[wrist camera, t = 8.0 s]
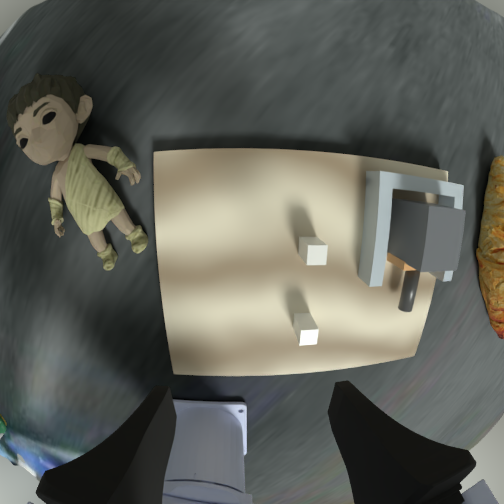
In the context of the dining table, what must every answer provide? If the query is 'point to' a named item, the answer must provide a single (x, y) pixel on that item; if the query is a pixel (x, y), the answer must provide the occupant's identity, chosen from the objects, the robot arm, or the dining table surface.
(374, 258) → the end holder
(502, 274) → the croissant
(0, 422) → the beverage can
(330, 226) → the board
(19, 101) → the figurine
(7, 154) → the dining table surface
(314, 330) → the twin white cubes
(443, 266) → the block
